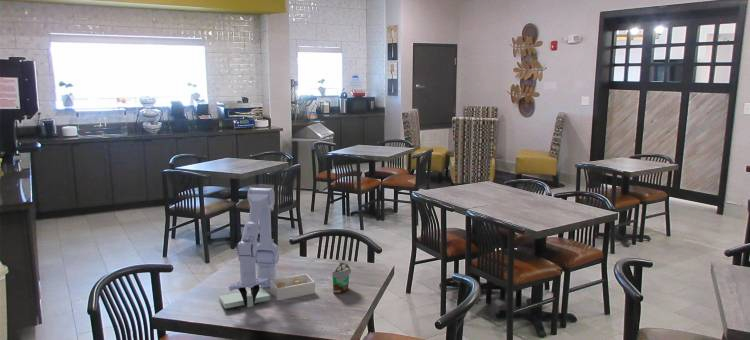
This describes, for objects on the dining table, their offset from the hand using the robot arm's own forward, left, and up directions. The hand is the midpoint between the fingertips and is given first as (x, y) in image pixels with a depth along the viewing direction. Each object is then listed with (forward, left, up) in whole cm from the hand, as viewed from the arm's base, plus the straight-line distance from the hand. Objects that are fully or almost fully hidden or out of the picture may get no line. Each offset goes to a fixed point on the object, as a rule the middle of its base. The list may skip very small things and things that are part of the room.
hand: (249, 304), depth 206 cm
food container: (-1, +40, -2) cm, 40 cm away
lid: (-6, 0, -1) cm, 6 cm away
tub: (-8, +20, -2) cm, 22 cm away
